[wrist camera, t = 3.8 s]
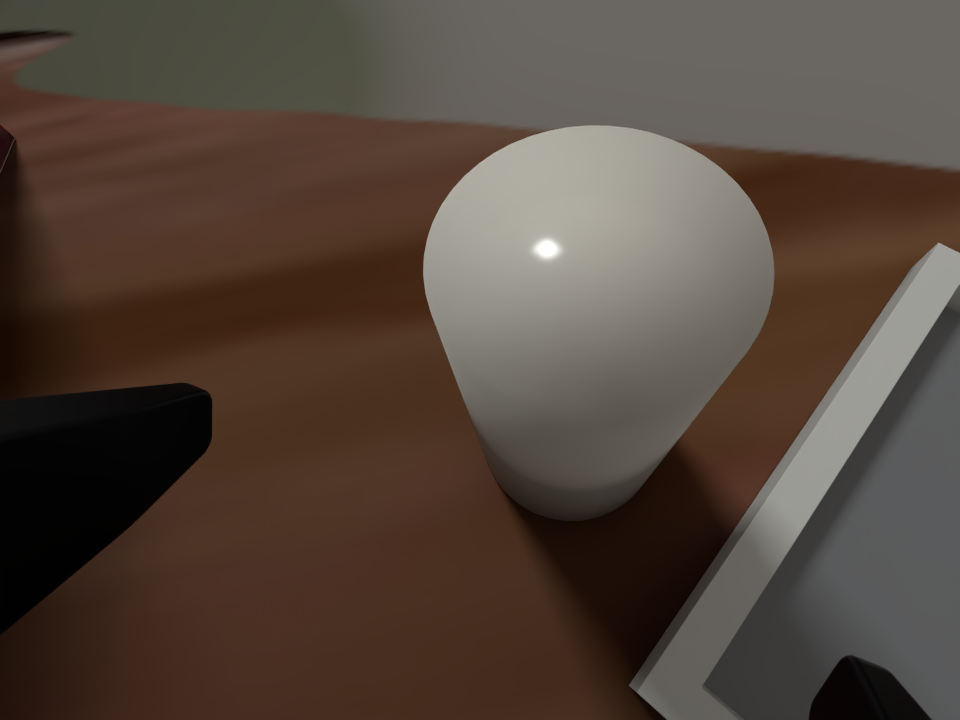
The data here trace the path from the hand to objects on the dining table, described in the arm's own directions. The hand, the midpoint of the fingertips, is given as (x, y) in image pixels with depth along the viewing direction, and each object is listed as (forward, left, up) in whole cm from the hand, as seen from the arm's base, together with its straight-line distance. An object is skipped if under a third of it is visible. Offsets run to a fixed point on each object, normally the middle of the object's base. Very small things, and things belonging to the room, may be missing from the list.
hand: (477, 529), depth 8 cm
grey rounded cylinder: (+5, +2, -12) cm, 13 cm away
